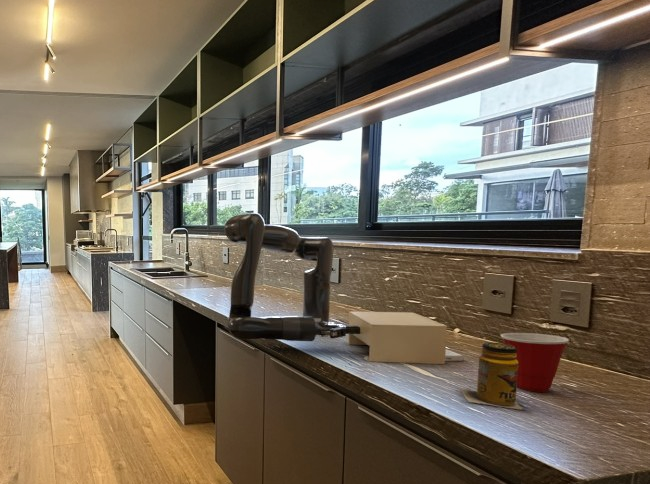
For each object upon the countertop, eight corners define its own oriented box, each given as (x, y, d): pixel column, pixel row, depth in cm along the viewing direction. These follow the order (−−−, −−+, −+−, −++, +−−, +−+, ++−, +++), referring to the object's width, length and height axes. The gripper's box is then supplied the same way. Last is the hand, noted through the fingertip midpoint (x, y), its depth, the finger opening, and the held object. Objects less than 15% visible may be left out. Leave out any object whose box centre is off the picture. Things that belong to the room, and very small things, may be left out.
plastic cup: (515, 376, 100) (518, 327, 99) (576, 392, 90) (581, 338, 88) (485, 382, 96) (488, 332, 95) (545, 399, 86) (550, 344, 85)
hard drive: (430, 348, 124) (463, 360, 112) (402, 348, 124) (433, 361, 112) (430, 342, 124) (464, 354, 112) (402, 343, 124) (433, 355, 112)
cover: (347, 343, 131) (348, 311, 130) (411, 345, 127) (413, 312, 126) (370, 361, 113) (371, 324, 112) (444, 364, 109) (447, 326, 108)
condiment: (523, 410, 82) (528, 351, 80) (468, 402, 86) (472, 346, 85) (510, 397, 88) (514, 342, 87) (459, 390, 92) (463, 338, 91)
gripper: (301, 321, 118) (368, 322, 114) (292, 312, 131) (351, 312, 127) (301, 346, 119) (367, 348, 115) (291, 335, 132) (350, 336, 128)
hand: (359, 329), depth 121 cm, fingers closed
